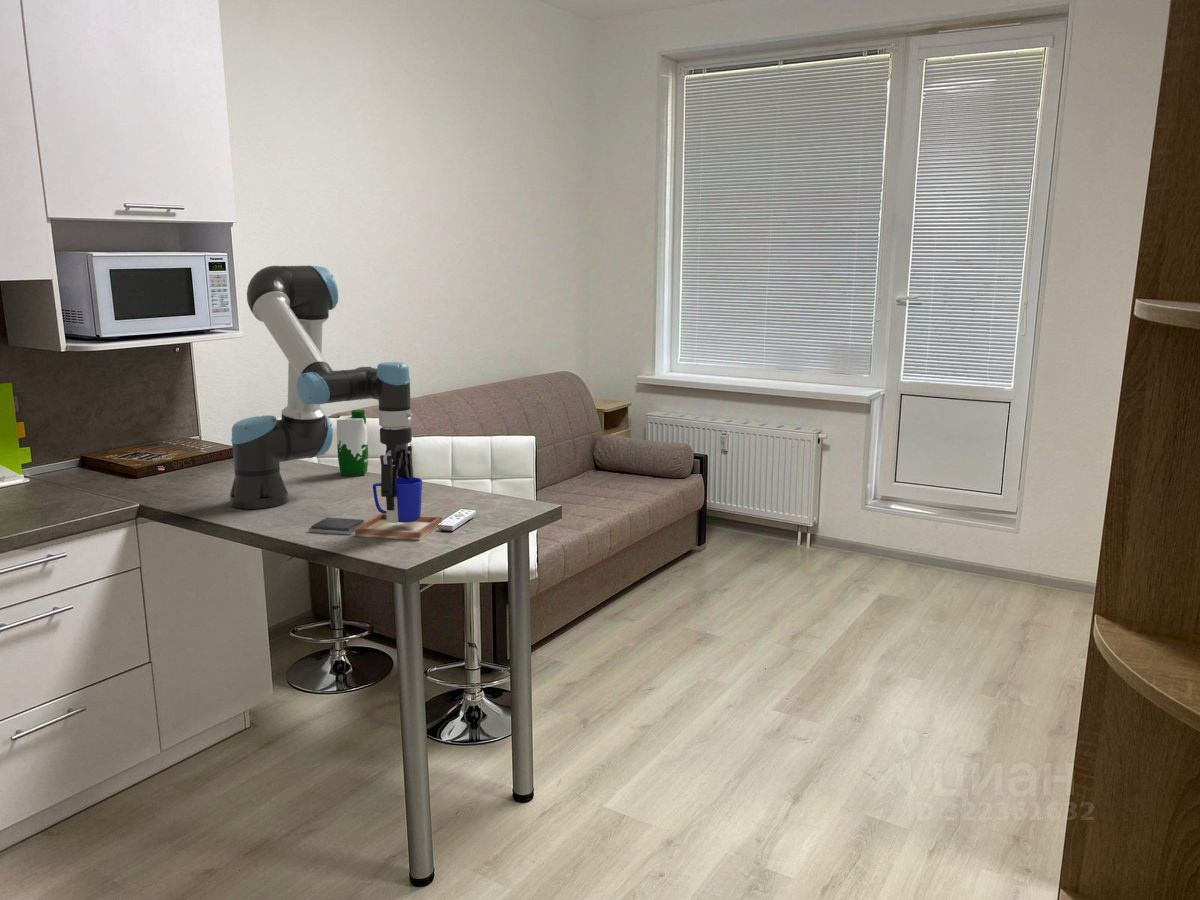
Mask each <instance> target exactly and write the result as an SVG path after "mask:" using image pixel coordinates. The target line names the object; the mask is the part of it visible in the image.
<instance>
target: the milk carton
mask: <svg viewBox="0 0 1200 900" xmlns="http://www.w3.org/2000/svg"><path fill="white" fill-rule="evenodd" d="M350 413H351V415H341V416H339V417H338V418H337V419H336V446H337V461H338V466H339V472H340V477H358V476H359V477H361V476H362V475H363V477H364V476H365V475H366V473H367V472H368V467H369V465H368V464H369V463H368V462H369V444H368V427H367V416H366V411H365V409H352V410H351V411H350Z"/></svg>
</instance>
